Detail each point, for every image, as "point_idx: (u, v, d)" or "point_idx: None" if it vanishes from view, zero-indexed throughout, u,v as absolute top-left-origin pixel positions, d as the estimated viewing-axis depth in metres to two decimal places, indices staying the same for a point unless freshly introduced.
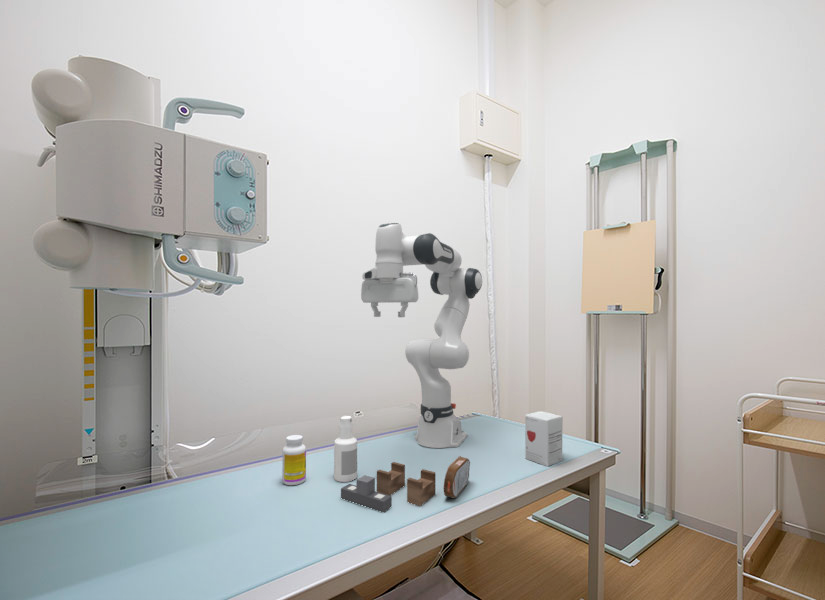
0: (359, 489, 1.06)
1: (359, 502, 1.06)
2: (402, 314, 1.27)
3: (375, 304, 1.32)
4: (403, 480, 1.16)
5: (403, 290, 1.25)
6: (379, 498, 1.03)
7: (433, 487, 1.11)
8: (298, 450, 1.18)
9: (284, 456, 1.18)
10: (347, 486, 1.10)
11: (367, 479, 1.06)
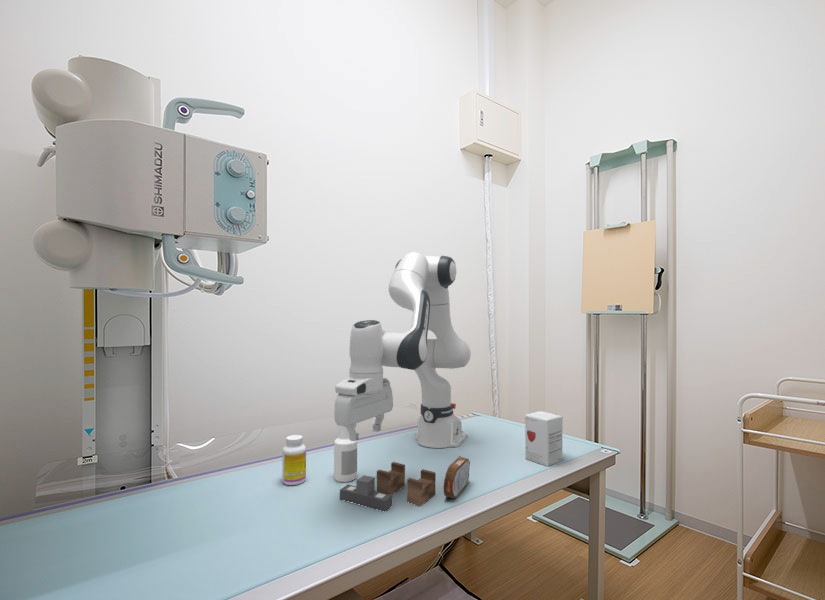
0: (359, 489, 1.06)
1: (359, 502, 1.06)
2: None
3: None
4: (403, 480, 1.16)
5: (386, 400, 1.12)
6: (381, 497, 1.04)
7: (433, 487, 1.11)
8: (298, 450, 1.18)
9: (284, 456, 1.18)
10: (346, 487, 1.10)
11: (367, 479, 1.06)
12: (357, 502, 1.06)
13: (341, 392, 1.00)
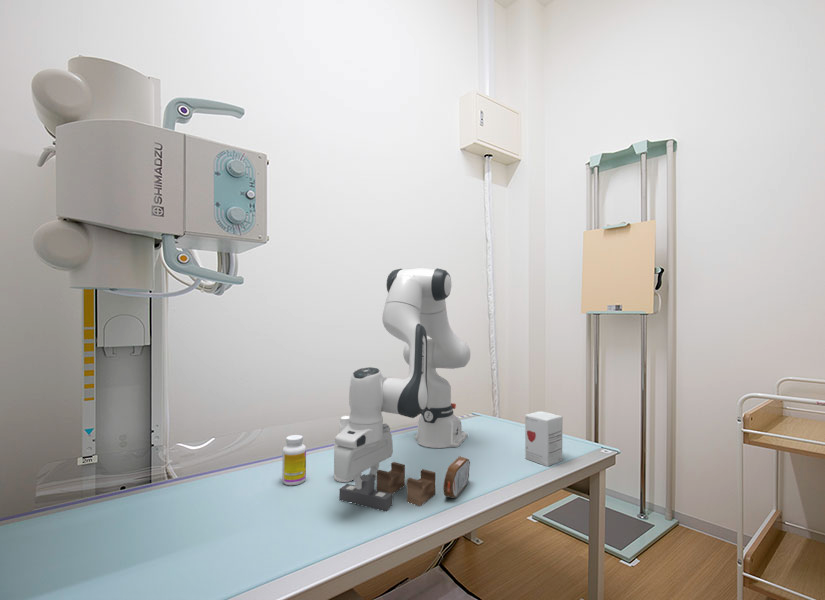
0: None
1: (359, 501, 1.05)
2: None
3: None
4: (403, 480, 1.16)
5: (386, 446, 1.12)
6: (381, 496, 1.04)
7: (433, 487, 1.11)
8: (298, 450, 1.18)
9: (284, 456, 1.18)
10: (345, 486, 1.10)
11: (367, 478, 1.06)
12: (357, 501, 1.06)
13: (341, 444, 1.00)
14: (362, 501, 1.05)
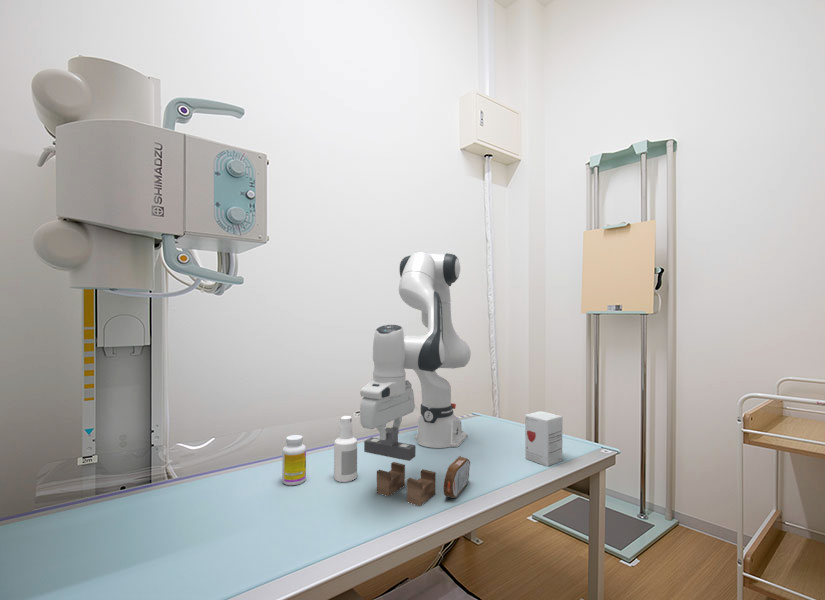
0: (384, 440, 1.10)
1: (384, 452, 1.10)
2: None
3: None
4: (403, 480, 1.16)
5: (408, 401, 1.15)
6: (405, 447, 1.07)
7: (433, 487, 1.11)
8: (298, 450, 1.18)
9: (284, 456, 1.18)
10: (370, 439, 1.14)
11: (390, 430, 1.10)
12: (381, 452, 1.10)
13: (366, 396, 1.04)
14: (386, 452, 1.09)
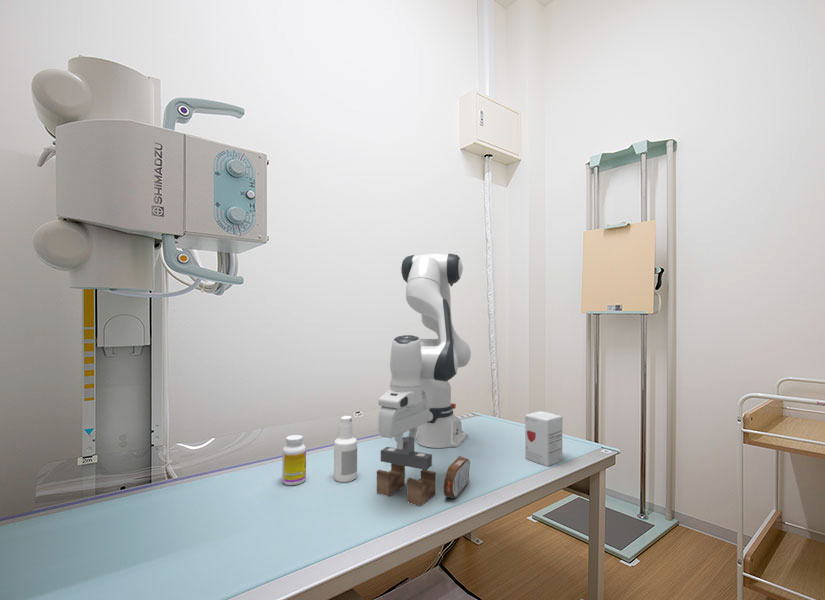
0: (400, 449, 1.11)
1: (400, 461, 1.11)
2: None
3: None
4: (403, 480, 1.16)
5: (424, 411, 1.17)
6: (421, 456, 1.09)
7: (433, 487, 1.11)
8: (298, 450, 1.18)
9: (284, 456, 1.18)
10: (386, 448, 1.15)
11: (407, 440, 1.12)
12: (398, 461, 1.11)
13: (385, 405, 1.05)
14: (403, 461, 1.10)
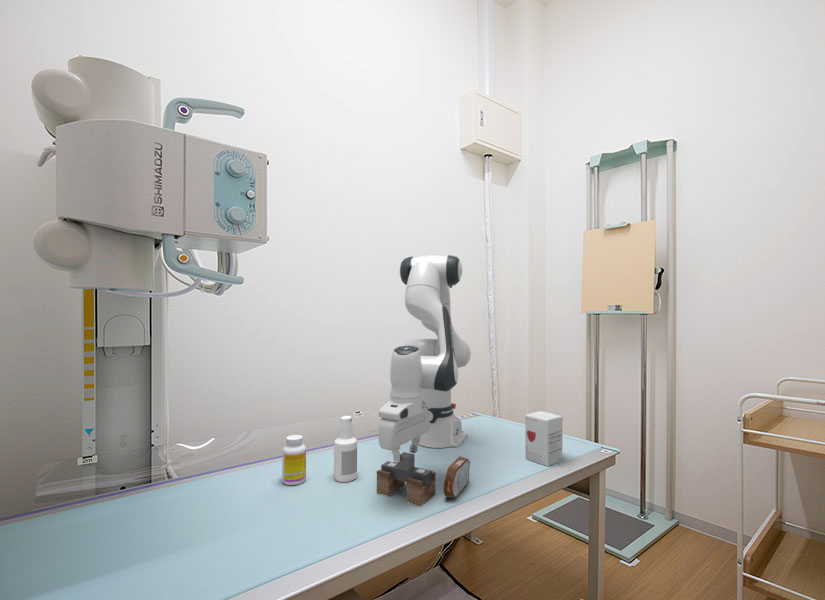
0: (400, 465, 1.11)
1: (400, 477, 1.11)
2: None
3: None
4: None
5: (424, 421, 1.17)
6: (421, 472, 1.09)
7: (433, 487, 1.11)
8: (298, 450, 1.18)
9: (284, 456, 1.18)
10: (386, 463, 1.15)
11: (407, 455, 1.12)
12: (398, 477, 1.11)
13: (385, 417, 1.05)
14: (403, 477, 1.11)
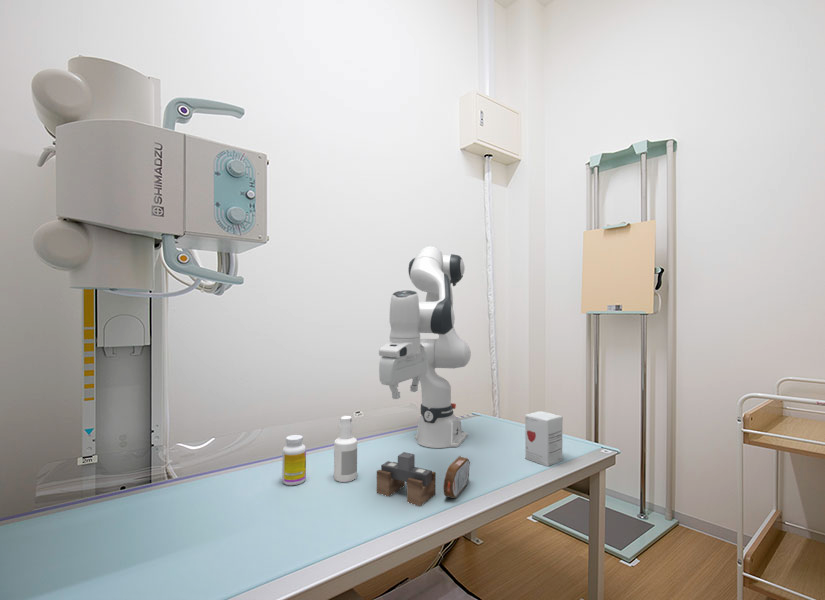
0: (400, 465, 1.11)
1: (400, 477, 1.11)
2: None
3: None
4: None
5: (422, 363, 1.23)
6: (421, 472, 1.09)
7: (433, 487, 1.11)
8: (298, 450, 1.18)
9: (284, 456, 1.18)
10: (386, 463, 1.15)
11: (407, 455, 1.12)
12: (398, 477, 1.11)
13: (385, 355, 1.11)
14: (403, 477, 1.11)
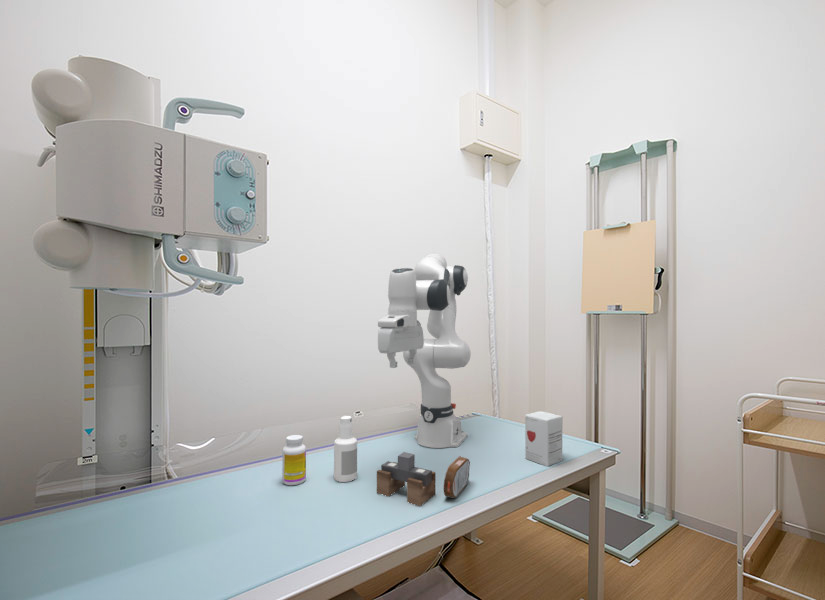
0: (400, 465, 1.11)
1: (400, 477, 1.11)
2: None
3: None
4: None
5: (418, 337, 1.30)
6: (421, 472, 1.09)
7: (433, 487, 1.11)
8: (298, 450, 1.18)
9: (284, 456, 1.18)
10: (386, 463, 1.15)
11: (407, 455, 1.12)
12: (398, 477, 1.11)
13: (383, 325, 1.19)
14: (403, 477, 1.11)
